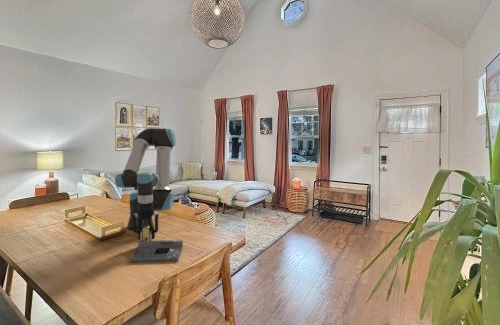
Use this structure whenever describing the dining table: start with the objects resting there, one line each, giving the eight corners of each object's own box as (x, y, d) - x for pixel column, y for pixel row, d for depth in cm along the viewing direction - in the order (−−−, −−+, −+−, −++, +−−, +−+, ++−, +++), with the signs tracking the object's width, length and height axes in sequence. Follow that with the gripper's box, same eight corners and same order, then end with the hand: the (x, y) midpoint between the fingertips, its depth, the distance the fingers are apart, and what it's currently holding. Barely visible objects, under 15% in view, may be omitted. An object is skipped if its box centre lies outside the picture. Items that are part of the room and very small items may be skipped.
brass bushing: (140, 245, 136) (140, 227, 135) (147, 242, 140) (146, 225, 139) (146, 247, 134) (145, 229, 133) (153, 244, 138) (152, 226, 137)
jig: (129, 262, 118) (129, 253, 118) (139, 249, 132) (139, 241, 132) (178, 261, 120) (177, 252, 120) (183, 248, 134) (182, 240, 134)
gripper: (125, 204, 130) (127, 248, 132) (160, 203, 132) (161, 247, 134) (131, 200, 138) (132, 242, 140) (164, 200, 139) (165, 241, 142)
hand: (146, 244), depth 137 cm, fingers closed on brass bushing, 4 cm apart
